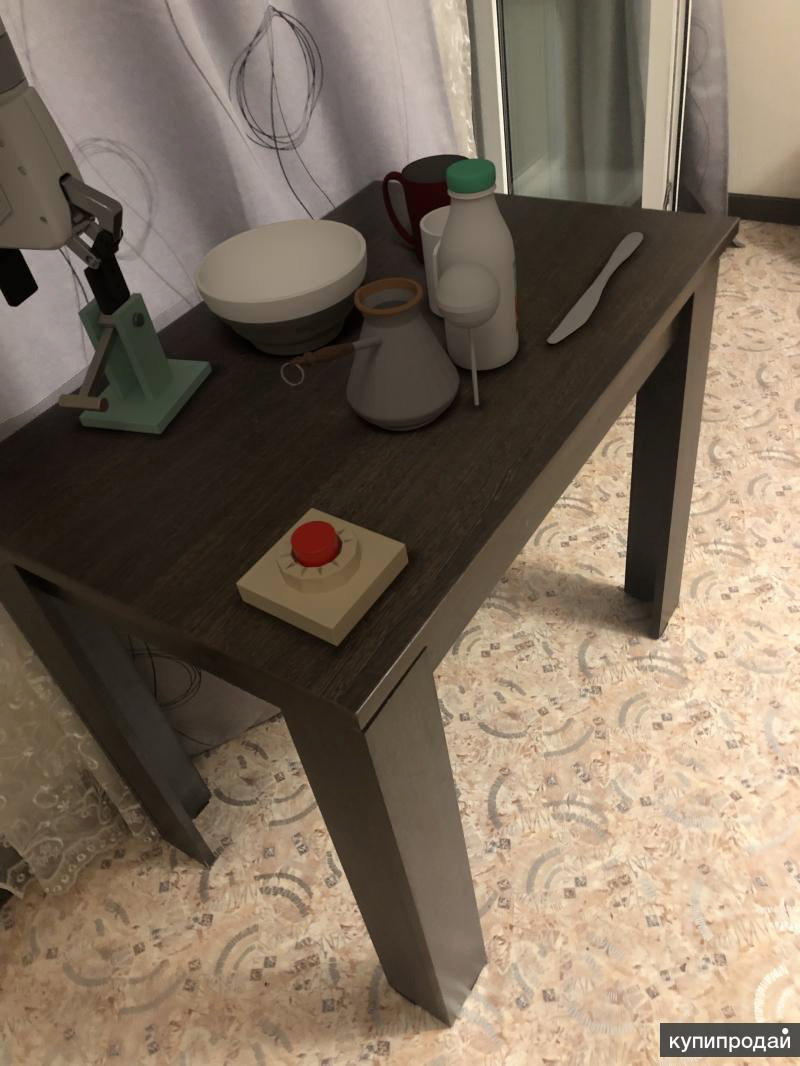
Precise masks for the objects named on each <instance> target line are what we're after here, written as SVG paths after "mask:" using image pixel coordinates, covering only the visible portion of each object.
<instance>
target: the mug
mask: <svg viewBox="0 0 800 1066" xmlns="http://www.w3.org/2000/svg"><path fill="white" fill-rule="evenodd" d="M466 159H470V158H469V157H467V156H465V155H460V154H451V153H449V154H447V153H446V154H434V155H429V156H425V157H422V158H419V159H416V160H413V161H410V162H409V163H408V164H406V165H404V167H403V168H402V170H401V172H400V171H396V170H392V171H390V172H388V173H387V174H385V176H384V178H383V180H382V185H381V191H382V192H381V193H382V197H383V203H384V206H385V210H386V212H387V215H388V218H389V219H390V222H391V224H392V226H393V228H394V229H395V231H396V232H397V233H398V235H399V236H400V237H401V238H402V239H403V240H404V241H405V242H406V243H408V244H409V245H411V246H413V247H414V248H415V252H416V257H417V260H418V261H419V262H420V263H421V264H423V265H425V263H424V255H423V246H422V238H421V229H420V222H421V220H422V218H423V217H424V216H425V215H427V214H428V213H430V212H432V211H434V210H436V209H439V208H442V207H445V206H450V205H451V196H450V195H449V194H448V186H447V180H446V172H447V169H448V167H449V166H451V165H452V164H454V163H456V162H458V161H462V160H466ZM390 181H396V182H398V183H400V185H402V189H403V194H404V195H403V196H404V200H405V205H406V209H407V215H408V219H409V224H410V229H411V232H412V233H409V232H408V231H407V230H406V229H405V227H404V226H403V225H402V223H401V222H400V220H399V218H398V217H397V215H396V213H395V210H394V207H393V204H392V202H391V201H392V200H391V196H390V192H389V182H390Z"/></svg>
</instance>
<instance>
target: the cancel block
mask: <svg viewBox="0 0 800 1066" xmlns="http://www.w3.org/2000/svg"><path fill="white" fill-rule="evenodd" d="M311 521H324V522H327V523H329V524H331V525H332V526H333V527H334V529H335V532H336V535H337V539H338V543H339V553H338V555H337V557H336V558H335V559H334V560H333V561H332V562H330V563H328V564H325V565H323V566H321V567H305V566H303V565H301V564H300V563H299V562H298V561H297V560H296V557H295V554H294V551H293V548H292V545H291V536H292V534H293V532H294V531H295V530H296V529H297V528H298V527H299V526H301V525H303V524H305V523H308V522H311ZM408 564H409V556H408V551H407V545H406V543H404V542H401V541H397V540H396V539H393V538H390V537H388V536H386V535H383V534H381V533H378V532H374V531H372V530H369V529H367V528H364V527H362V526H359V525H357V524H355V523H352V522H349V521H347V520H344V519H341V518H340V517H336V516H334V515H332V514H329V513H326V512H324V511H321V510H318V509H316V508H313V507H310V508H309V510H308V511H307V512H305V514H303V516H302V517H301V518H300V519H299V520H298V521H296V523H295V524H293V526H292V527H290V529H288V530H287V532H286V533H284V535H283V536H281V538H280V539H278V541H277V542H276V543H275V544H273V546H272V547H271V548H269V550H268V551H267V552H266V553H265V554H264V555H263V556H262V557H260V559H258V561H257V562H255V563H254V564H253V566H252V567H251V568H250V569H248V571H247V572H246V573H244V575H243V576H241V577H240V579H238V580H237V581H236V583H235V584H236V588H237V590H238V592H239V595H240V597H241V599H242V601H243V602H245V603H247V604H249V605H251V606H253V607H255V608H257V609H259V610H261V611H264V612H266V613H267V614H270V615H272V616H274V617H276V618H277V619H280V620H282V621H284V622H286V623H288V624H289V625H292V626H294V627H296V628H298V629H300V630H302V631H304V632H307V633H309V634H310V635H312V636H315V637H316V638H319V639H321V640H323V641H324V642H327V643H329V644H331V645H333V646H335V647H338V646H340V644H341V643H342V642H343V640H344V639H345V638H346V637H347V636H348V635H349V633H350V632H351V631H352V630H353V629H354V627H355V626H356V625H357V624H358V623H359V622H360V621H361V619H362V618H363V617H364V616H365V614H366V613H367V612H368V611H369V610H370V609H371V608H372V606H374V604H375V603H376V602H377V600H378V599H379V598H380V597H381V596H382V595H383V594H384V592H385V591H386V589H388V587H389V586H390V585H391V584H392V583H393V581H395V579H396V578H397V577H398V575H400V573H401V572H402V571H403V570H404V569H405V567H406V566H407V565H408Z"/></svg>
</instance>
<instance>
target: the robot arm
mask: <svg viewBox="0 0 800 1066" xmlns="http://www.w3.org/2000/svg"><path fill="white" fill-rule="evenodd" d="M19 59H20V58H19V56H18V55H17V52H16V50H15V48H14V45H13V42H12V40H11V38H10V36H9V33H8V32H7V28H6V26H5V24H4V22H3V19H2V17H1V16H0V292H1V293H2V296H3V297H4V300H5V301H6V303H7V305H8V306H9V307H11V308H18V307H19V306H20V305H22V303H24V302H25V301H27V300H28V299H29V298H31V296H33V295H34V294H35V293H36V292H37V291H38V290H39V285H38V283H37V281H36V279H35V277H34V275H33V273H32V270H31V269H30V267H29V264H28V263H27V261H26V259H25V256H24V255H23V252H22V251H21V250H26V251H27V250H29V251H57V250H60V249H62V248H64V247H65V246H66V247H67V248H68V249H69V250H70V251H71V252H72V253H73V254H74V255H76V257H78V258H79V259H80V260H81V261H82V262H83V263H84V264H85V265H87V267H86V268H83V274H84V276H85V278H86V280H87V283H88V285H89V289H90V290H91V292H92V294H93V298H95V299H96V301H97V304H98V306H99V308H100V310H101V312H102V313H103V314H104V315H112V314H113V313H114V312H116V311H117V310H118V309H119V308H120V307H121V306H122V305H123V304H124V303H125V302H126V301H128V300H129V299H130V296H131V291H130V289H129V286H128V284H127V281H126V279H125V277H124V273H123V272H122V270H121V269H122V268H121V267H120V264H119V262H118V259H117V257H116V254H117V253H118V252H119V251H120V244H121V241H122V239H123V237H124V229H123V219H124V217H123V216H124V207H123V205H122V203H121V202H119V200H117V199H115V198H113V197H111V196H109V195H107V194H105V193H104V192H102V191H100V190H98V189H96V188H94V187H92V186H91V185H88V184H87V183H85V181H84V178H83V175H82V173H81V171H80V168H79V166H78V165H77V163H76V161H75V158H74V156H73V154H72V152H71V150H70V148H69V146H68V144H67V142H66V140H65V138H64V136H63V134H62V132H61V131H60V128H59V127H58V125H57V123H56V121H55V120H54V117H53V116H52V114H51V112H50V111H49V109H48V107H47V105H46V103H45V102H44V100H43V99H42V97H41V96H40V95H39V93H38V91H37V89H36V88H35V86H32V85H30V84H29V81H28V79H27V76H26V74H25V71H24V69H23V66H22V65H21V61H20V60H19ZM96 220H97V222H96ZM83 234H85V235H86V236H87V237H88V238H89V239H91V241H92V242H93V243H92V245H91V246H90V245H89V244H88V243H87V242H86V241H85V240H84V239H83V238H81V236H82V235H83Z"/></svg>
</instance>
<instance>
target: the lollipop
mask: <svg viewBox="0 0 800 1066" xmlns="http://www.w3.org/2000/svg"><path fill="white" fill-rule="evenodd" d="M500 294H501V292H500V285H499V283H498V281H497V279H496V277H495V276H494V274H493V273H492V272H491V271H490V270H489V269H488V268H487V267H485V266H483V265H481V264H479V263H475V262H462V263H459V264H456V265H454V266H452V267H451V268H449V269H448V270H447V271H446V272H445V273H444V274H443V276H442V277H441V278H440V280H439V283H438V285H437V288H436V293H435V301H436V304H437V307H438V310H439V312H440V314H441V315H442V316H443V317H442V318H443V320H444V319H445V320H446V321H447V322H449V323H450V324H451V325H453V326H455V327H458V328H462V329H468V333H469V345H470V356H471V368H472V370H471V379H472V390H473V402H474V405H475V406H479V405H480V397H479V385H478V373H477V370H476V359H475V347H474V334H473V328H477V327H479V326H482V325H483V324H485V323H486V322H488V321H489V320H490V319H491V318H492V317H493V315H494V314H495V312H496V310H497V308H498V305H499V302H500Z"/></svg>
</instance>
